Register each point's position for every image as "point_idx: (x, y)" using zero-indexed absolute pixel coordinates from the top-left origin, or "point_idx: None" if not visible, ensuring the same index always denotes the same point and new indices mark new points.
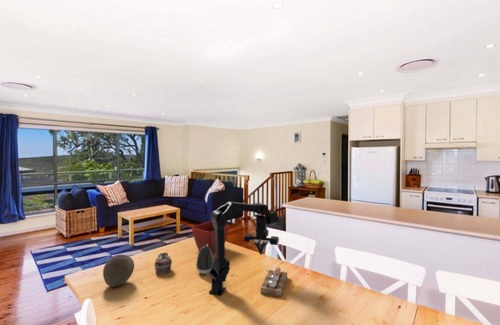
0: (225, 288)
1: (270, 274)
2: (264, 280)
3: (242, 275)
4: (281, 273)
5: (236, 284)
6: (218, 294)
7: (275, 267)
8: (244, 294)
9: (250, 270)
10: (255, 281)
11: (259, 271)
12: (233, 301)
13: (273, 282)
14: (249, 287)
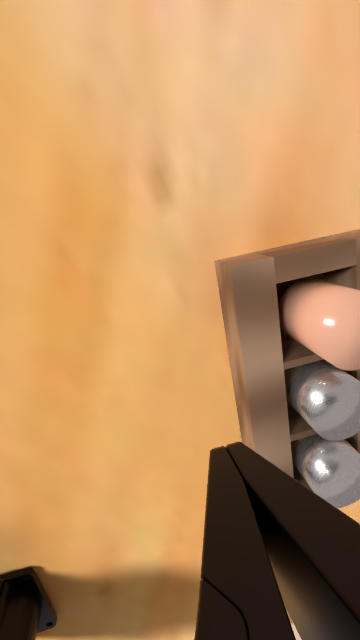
0: (34, 579)
1: (268, 340)
2: (256, 443)
3: (7, 380)
4: (346, 265)
5: (57, 497)
6: (43, 629)
7: (342, 320)
8: (169, 540)
9: (9, 263)
10: (156, 399)
11: (101, 238)
12: (151, 604)
13: (356, 493)
14: (158, 476)
